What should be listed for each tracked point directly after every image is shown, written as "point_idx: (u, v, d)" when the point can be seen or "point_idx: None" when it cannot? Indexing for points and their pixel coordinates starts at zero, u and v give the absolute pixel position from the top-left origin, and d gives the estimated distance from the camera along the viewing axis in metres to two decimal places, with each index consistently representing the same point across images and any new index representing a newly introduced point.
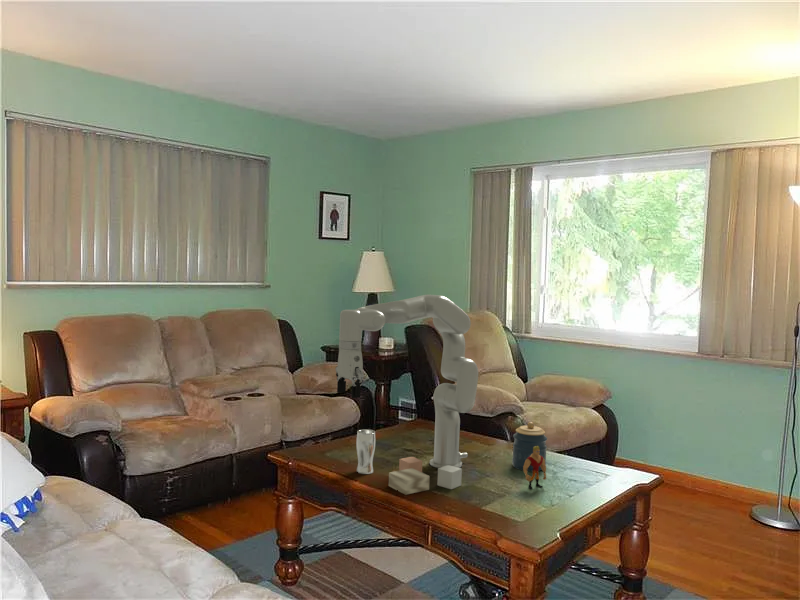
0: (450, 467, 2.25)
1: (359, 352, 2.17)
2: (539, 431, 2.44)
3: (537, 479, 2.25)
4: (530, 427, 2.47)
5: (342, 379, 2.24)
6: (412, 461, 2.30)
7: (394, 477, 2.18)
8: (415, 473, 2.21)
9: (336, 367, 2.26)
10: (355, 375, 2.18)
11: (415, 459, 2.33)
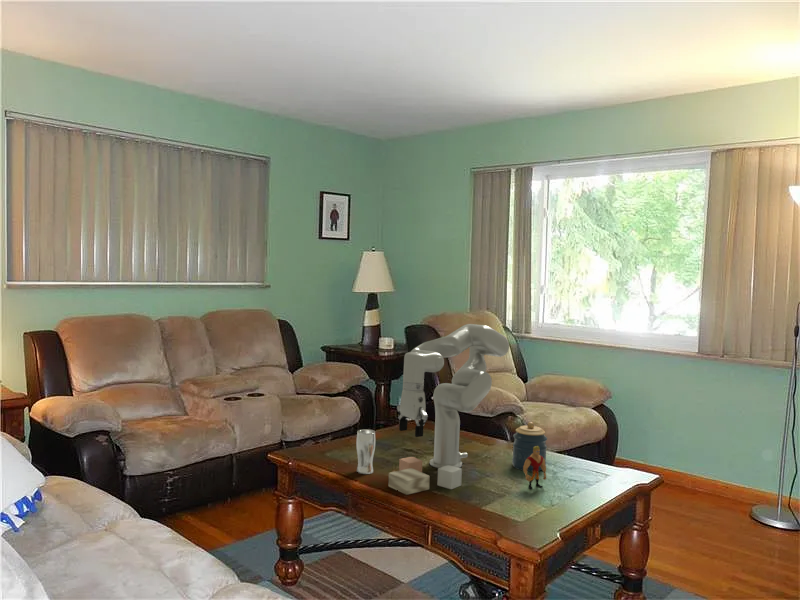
0: (450, 467, 2.25)
1: (422, 393, 2.28)
2: (539, 431, 2.44)
3: (537, 479, 2.25)
4: (530, 427, 2.47)
5: (404, 418, 2.36)
6: (412, 461, 2.30)
7: (395, 477, 2.18)
8: (415, 473, 2.21)
9: (398, 406, 2.38)
10: (418, 415, 2.29)
11: (415, 459, 2.33)
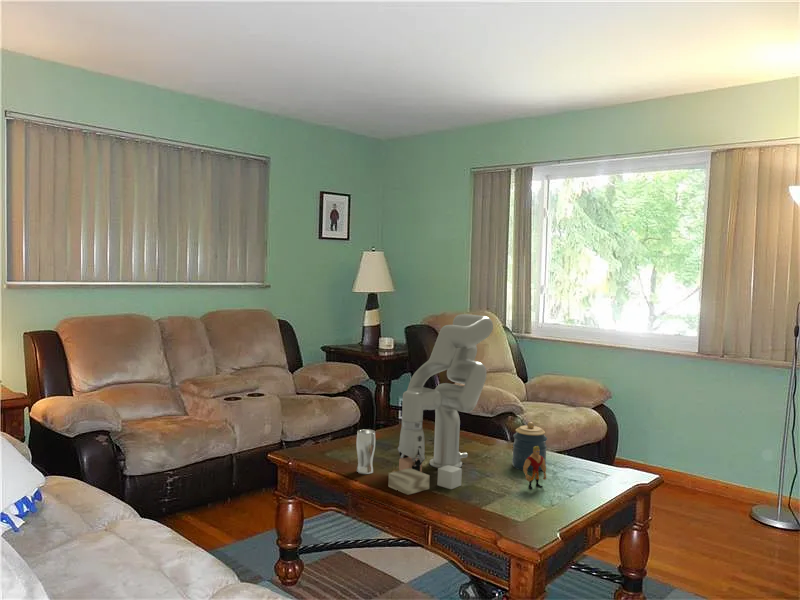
0: (450, 467, 2.25)
1: (421, 432, 2.29)
2: (539, 431, 2.44)
3: (537, 479, 2.25)
4: (530, 427, 2.47)
5: None
6: (412, 461, 2.30)
7: (395, 478, 2.18)
8: (415, 473, 2.21)
9: (398, 447, 2.38)
10: (416, 454, 2.31)
11: (415, 459, 2.33)
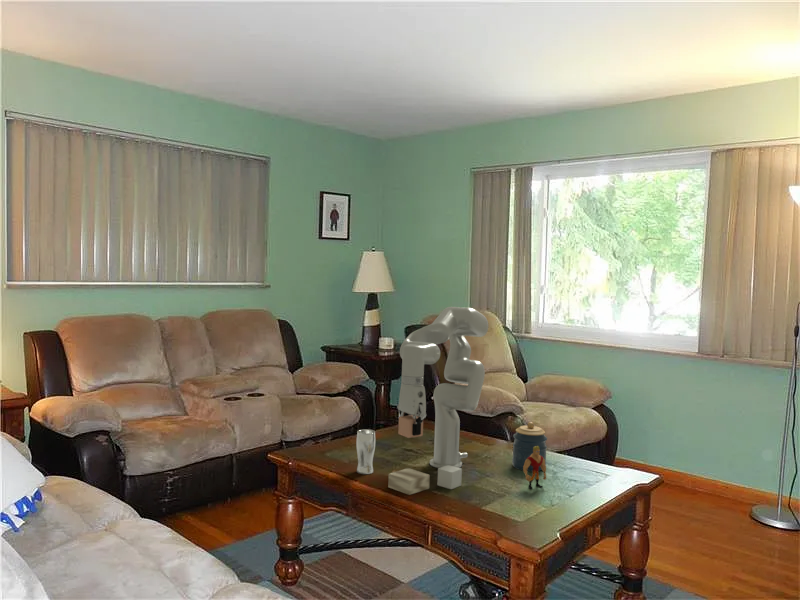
0: (450, 467, 2.25)
1: (422, 387, 2.15)
2: (539, 431, 2.44)
3: (537, 479, 2.25)
4: (530, 427, 2.47)
5: None
6: (412, 419, 2.16)
7: (396, 478, 2.17)
8: (415, 473, 2.21)
9: (398, 405, 2.24)
10: (417, 411, 2.17)
11: (416, 417, 2.20)
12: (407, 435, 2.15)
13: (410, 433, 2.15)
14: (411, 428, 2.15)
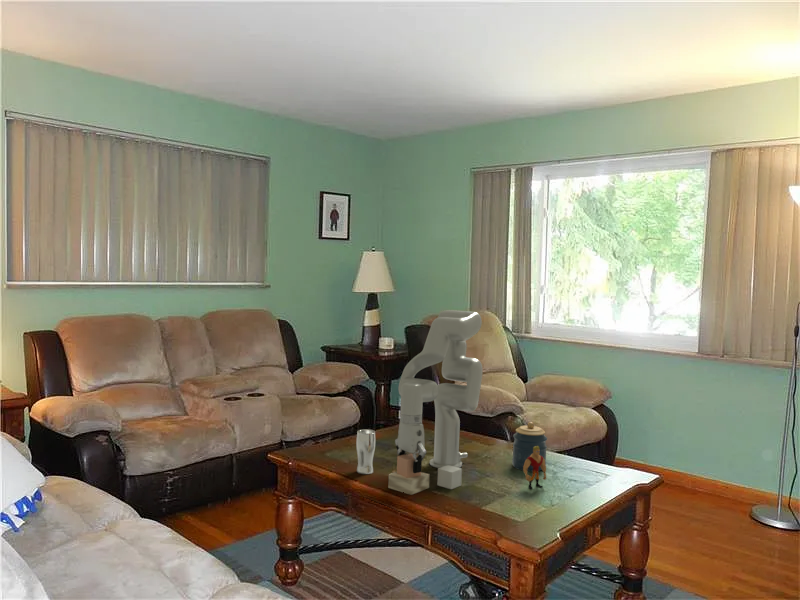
0: (450, 467, 2.25)
1: (421, 426, 2.16)
2: (539, 431, 2.44)
3: (537, 479, 2.25)
4: (530, 427, 2.47)
5: (403, 452, 2.23)
6: (411, 459, 2.17)
7: (396, 478, 2.17)
8: None
9: (396, 439, 2.25)
10: (416, 449, 2.17)
11: None
12: (405, 475, 2.16)
13: (408, 473, 2.16)
14: (409, 468, 2.16)
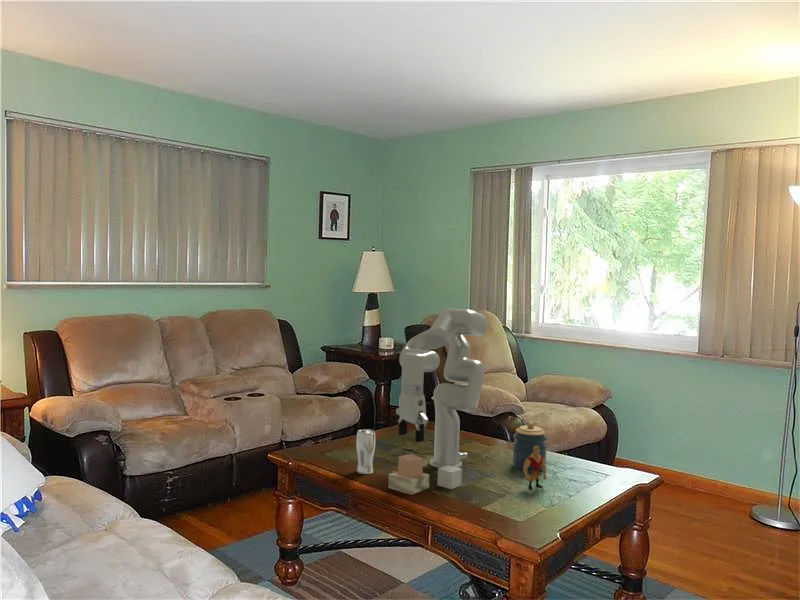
0: (450, 467, 2.25)
1: (422, 396, 2.16)
2: (539, 431, 2.44)
3: (537, 479, 2.25)
4: (530, 427, 2.47)
5: (403, 421, 2.23)
6: (412, 459, 2.17)
7: (396, 479, 2.17)
8: None
9: (397, 409, 2.25)
10: (418, 419, 2.17)
11: (415, 456, 2.20)
12: (407, 475, 2.16)
13: (410, 473, 2.16)
14: (411, 468, 2.16)
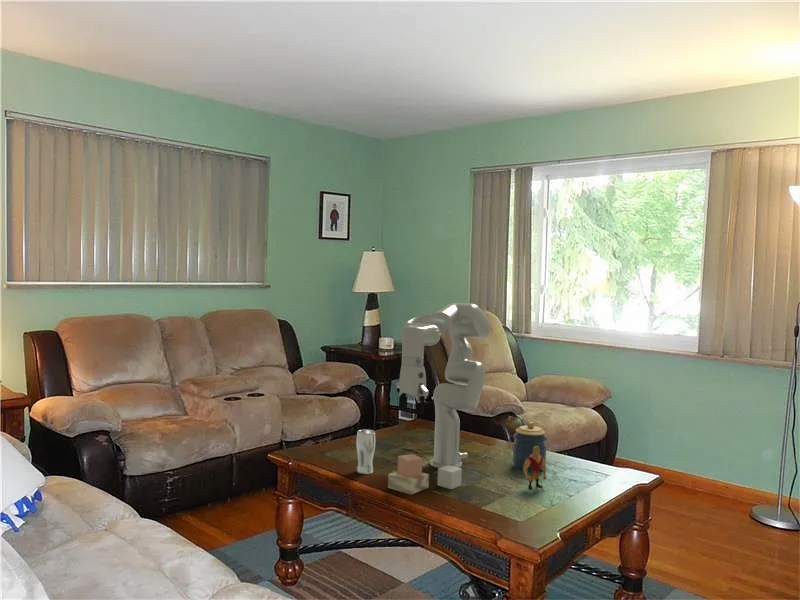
0: (450, 467, 2.25)
1: (423, 368, 2.16)
2: (539, 431, 2.44)
3: (537, 479, 2.25)
4: (530, 427, 2.47)
5: (403, 395, 2.24)
6: (411, 459, 2.17)
7: (396, 478, 2.17)
8: None
9: (397, 383, 2.26)
10: (418, 391, 2.17)
11: (415, 456, 2.20)
12: (405, 475, 2.16)
13: (408, 473, 2.16)
14: (409, 468, 2.16)
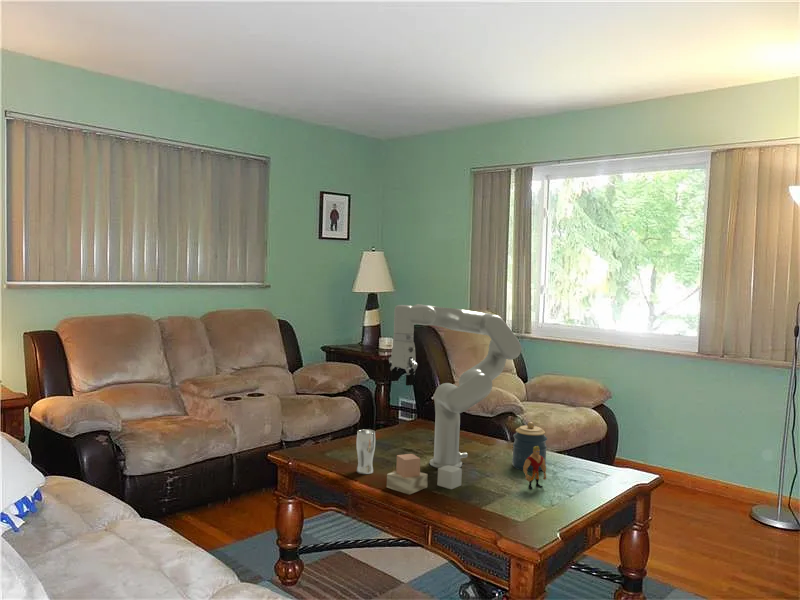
0: (450, 467, 2.25)
1: (412, 344, 2.37)
2: (539, 431, 2.44)
3: (537, 479, 2.25)
4: (530, 427, 2.47)
5: (395, 369, 2.44)
6: (409, 458, 2.18)
7: (394, 478, 2.17)
8: None
9: (389, 358, 2.46)
10: (408, 365, 2.38)
11: (413, 456, 2.21)
12: (403, 474, 2.17)
13: (406, 473, 2.16)
14: (407, 468, 2.17)
